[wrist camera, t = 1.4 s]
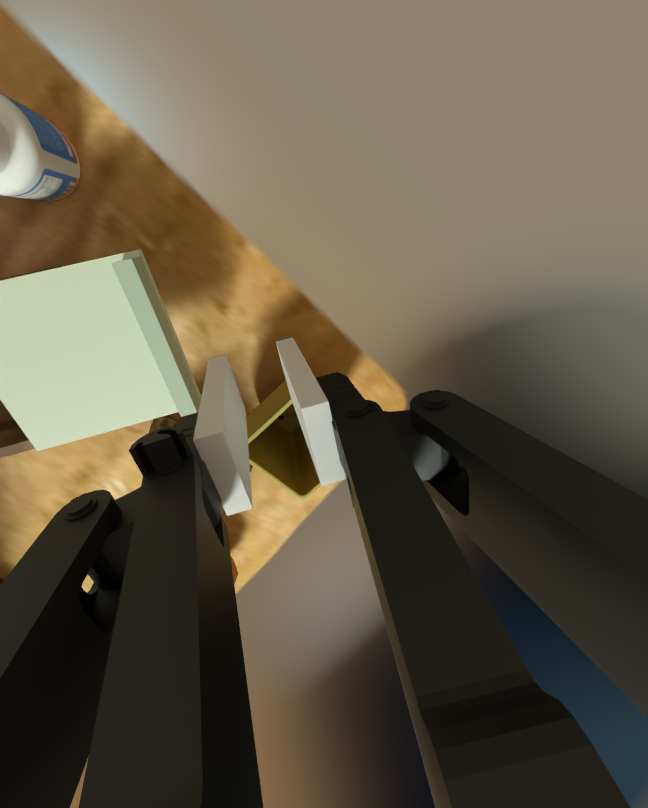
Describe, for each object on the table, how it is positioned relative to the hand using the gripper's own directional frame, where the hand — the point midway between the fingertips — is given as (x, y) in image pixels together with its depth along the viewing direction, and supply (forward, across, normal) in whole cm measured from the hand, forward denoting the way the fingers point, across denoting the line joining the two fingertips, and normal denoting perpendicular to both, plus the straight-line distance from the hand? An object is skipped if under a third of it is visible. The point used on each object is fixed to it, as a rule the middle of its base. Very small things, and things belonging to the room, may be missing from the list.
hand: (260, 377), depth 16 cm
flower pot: (+21, +2, -12) cm, 24 cm away
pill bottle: (+21, -12, +13) cm, 27 cm away
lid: (+13, -12, 0) cm, 18 cm away
